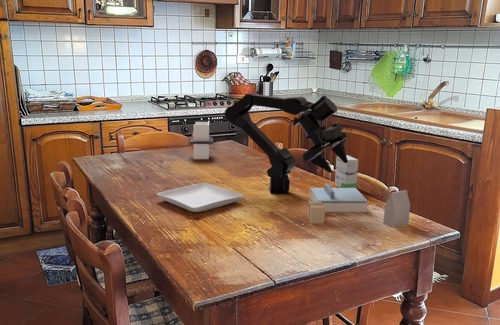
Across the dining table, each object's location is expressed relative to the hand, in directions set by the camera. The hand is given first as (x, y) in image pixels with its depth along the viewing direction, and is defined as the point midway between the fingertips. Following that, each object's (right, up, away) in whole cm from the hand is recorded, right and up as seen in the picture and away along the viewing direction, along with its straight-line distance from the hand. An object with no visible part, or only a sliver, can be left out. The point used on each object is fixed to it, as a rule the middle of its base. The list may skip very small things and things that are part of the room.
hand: (339, 167), depth 160 cm
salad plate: (-47, -12, 0) cm, 48 cm away
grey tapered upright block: (+14, -17, -15) cm, 27 cm away
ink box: (+6, -8, +20) cm, 22 cm away
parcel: (-10, -16, -14) cm, 23 cm away
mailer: (-1, -13, 0) cm, 13 cm away
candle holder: (-53, +4, +64) cm, 83 cm away
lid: (-1, -9, -1) cm, 9 cm away
